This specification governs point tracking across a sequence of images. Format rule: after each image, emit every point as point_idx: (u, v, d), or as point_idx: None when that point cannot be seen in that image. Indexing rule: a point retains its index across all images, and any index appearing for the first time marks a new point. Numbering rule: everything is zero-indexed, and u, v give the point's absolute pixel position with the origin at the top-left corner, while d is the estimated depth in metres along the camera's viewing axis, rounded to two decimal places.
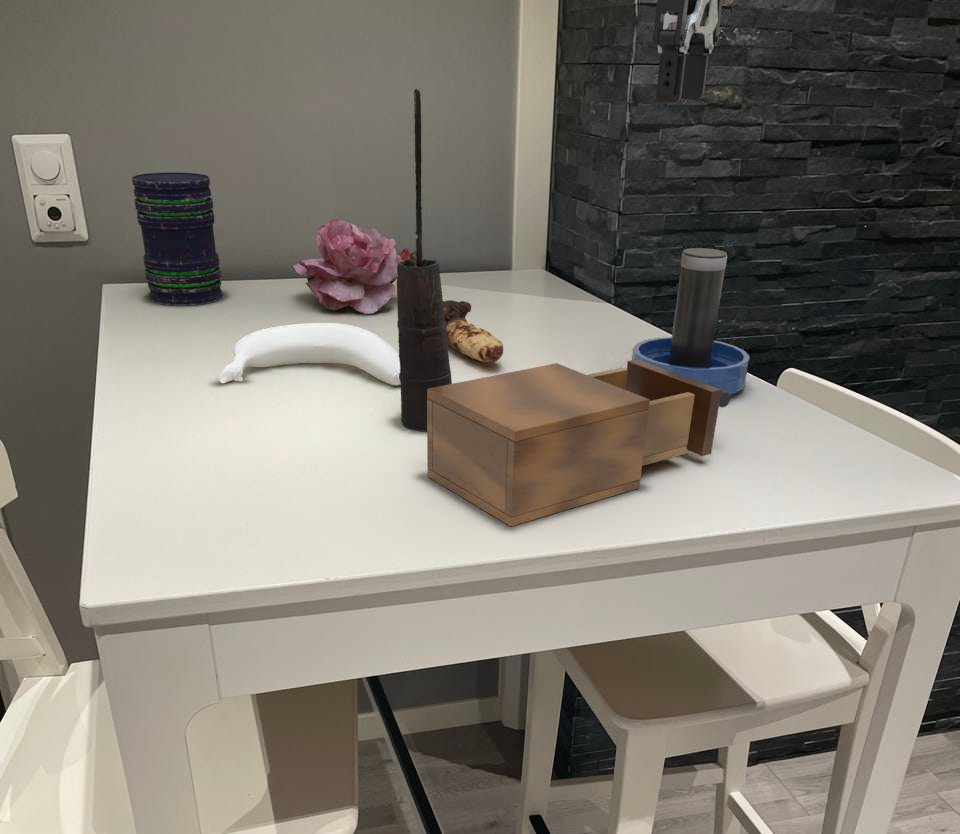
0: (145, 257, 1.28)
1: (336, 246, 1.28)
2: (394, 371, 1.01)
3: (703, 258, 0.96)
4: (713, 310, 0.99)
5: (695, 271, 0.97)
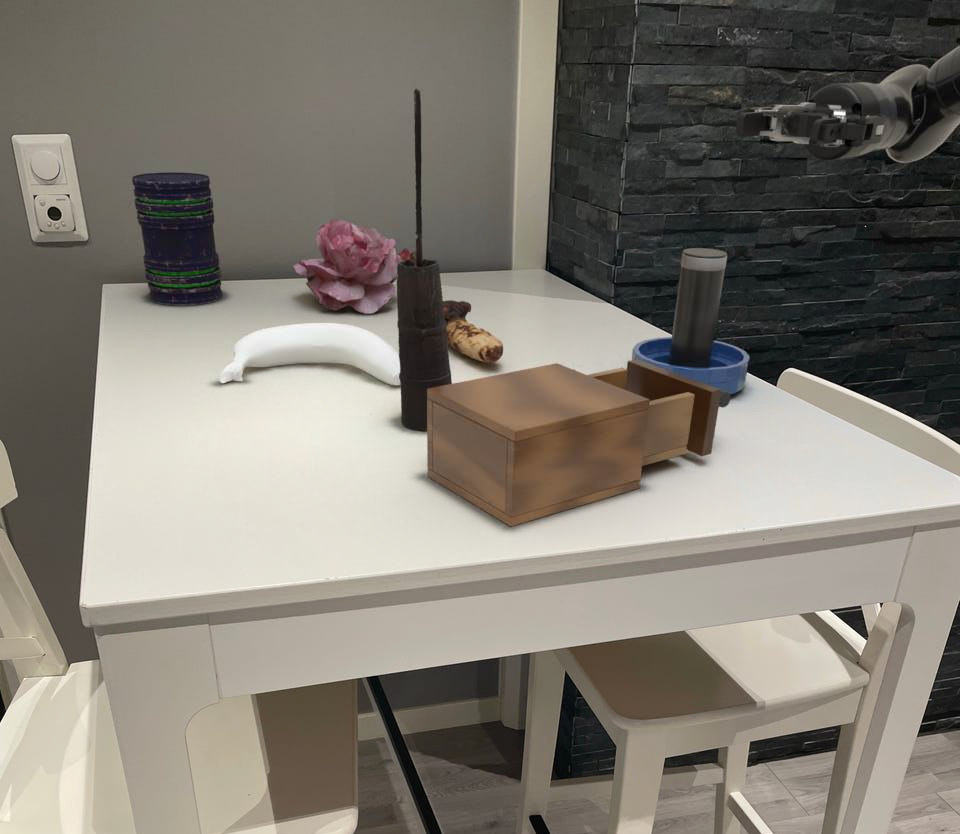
0: (145, 257, 1.28)
1: (336, 246, 1.28)
2: (394, 371, 1.01)
3: (703, 258, 0.96)
4: (713, 310, 0.99)
5: (695, 271, 0.97)
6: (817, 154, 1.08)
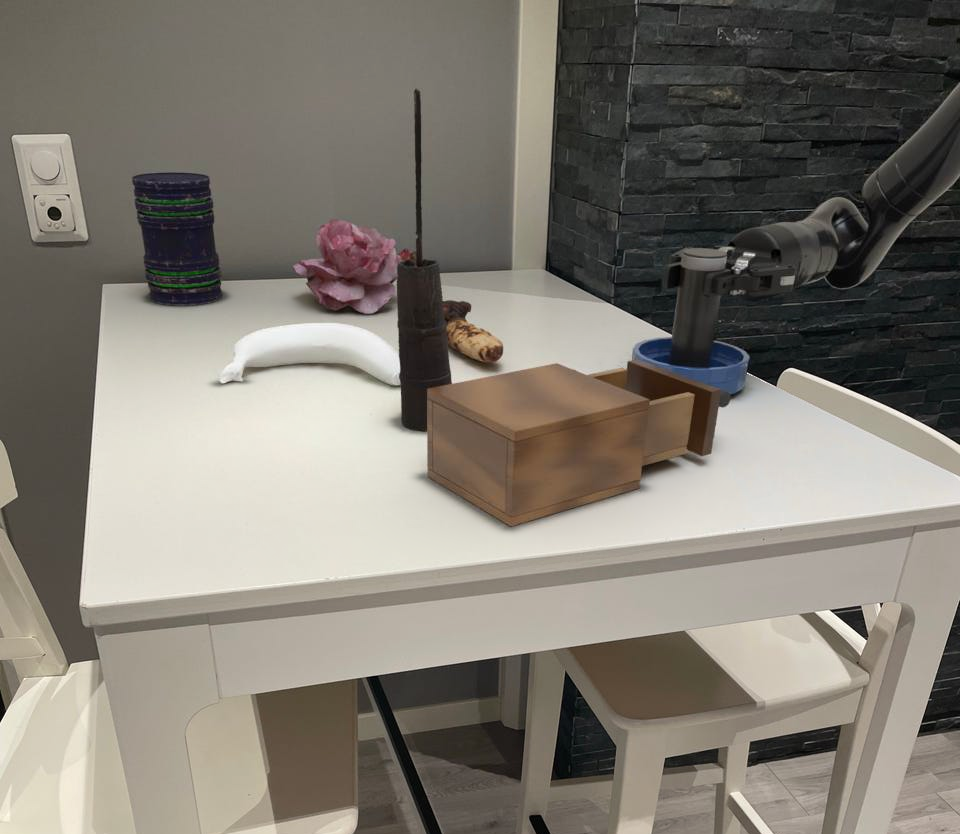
0: (145, 257, 1.28)
1: (336, 246, 1.28)
2: (394, 371, 1.01)
3: (703, 258, 0.96)
4: (713, 310, 0.99)
5: (695, 271, 0.97)
6: (739, 294, 1.07)
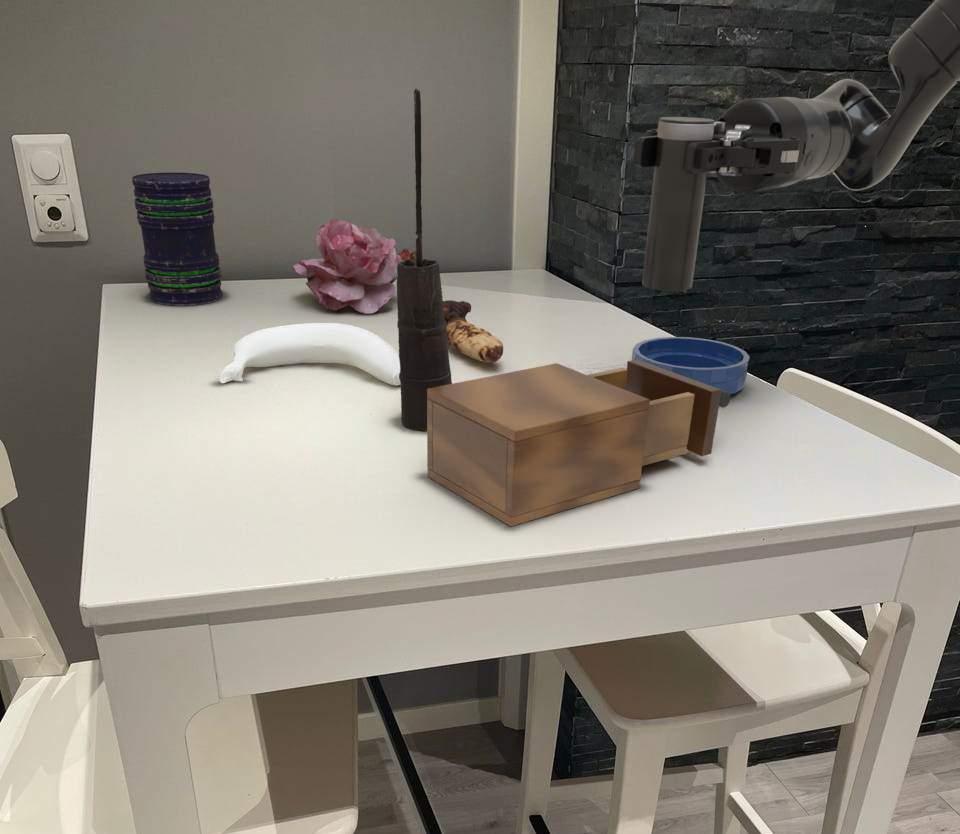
0: (145, 257, 1.28)
1: (336, 246, 1.28)
2: (394, 371, 1.01)
3: (684, 123, 0.77)
4: (697, 194, 0.80)
5: (675, 142, 0.78)
6: (731, 185, 0.88)
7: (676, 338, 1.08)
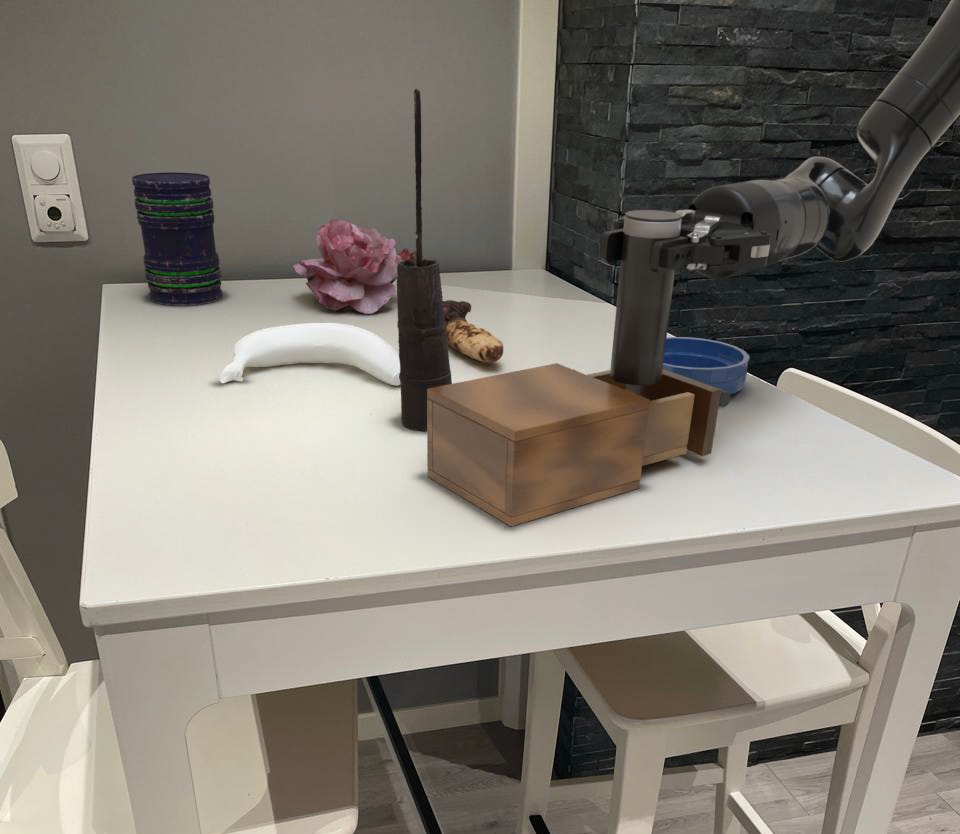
0: (145, 257, 1.28)
1: (336, 246, 1.28)
2: (394, 371, 1.01)
3: (649, 221, 0.75)
4: (665, 290, 0.78)
5: (641, 239, 0.75)
6: (703, 271, 0.86)
7: (676, 338, 1.08)
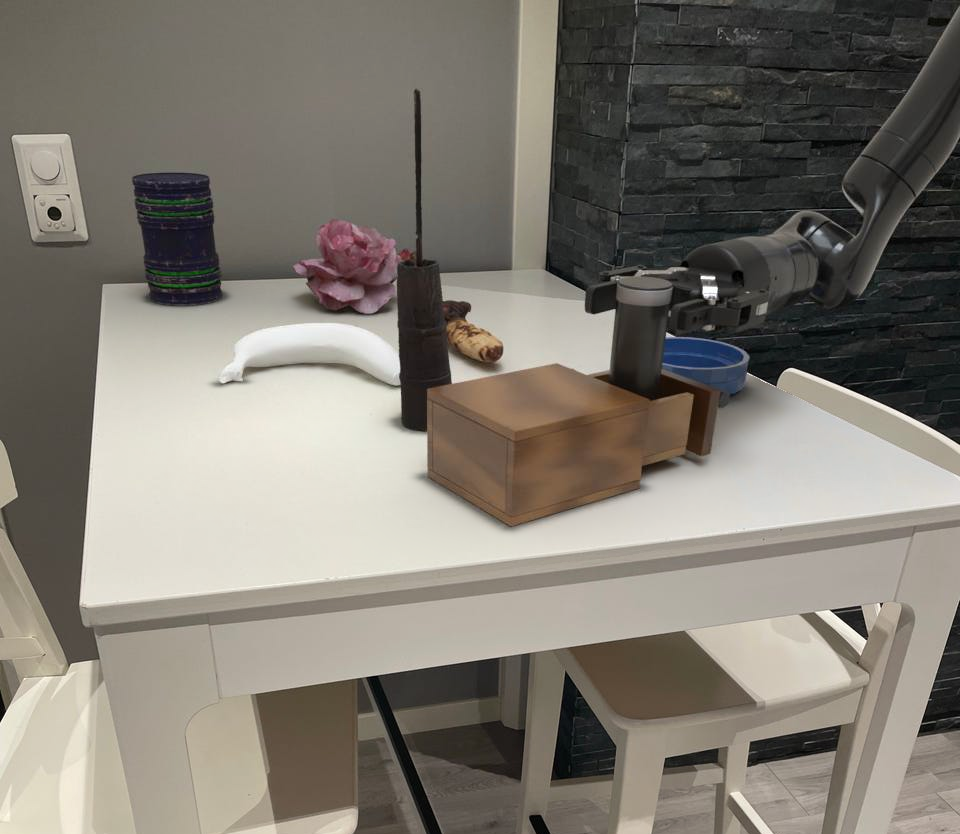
0: (145, 257, 1.28)
1: (336, 246, 1.28)
2: (394, 371, 1.01)
3: (641, 290, 0.77)
4: (656, 354, 0.80)
5: (633, 307, 0.78)
6: None
7: (676, 338, 1.08)
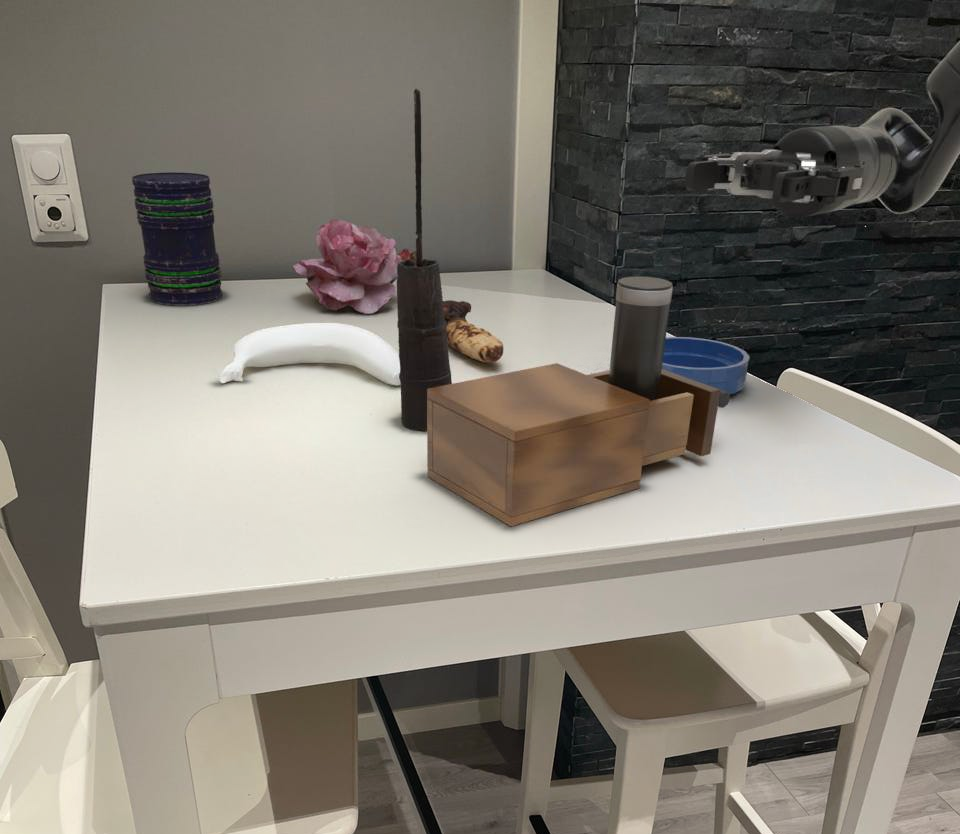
0: (145, 257, 1.28)
1: (336, 246, 1.28)
2: (394, 371, 1.01)
3: (641, 290, 0.77)
4: (656, 354, 0.80)
5: (633, 307, 0.78)
6: (785, 209, 0.91)
7: (676, 338, 1.08)
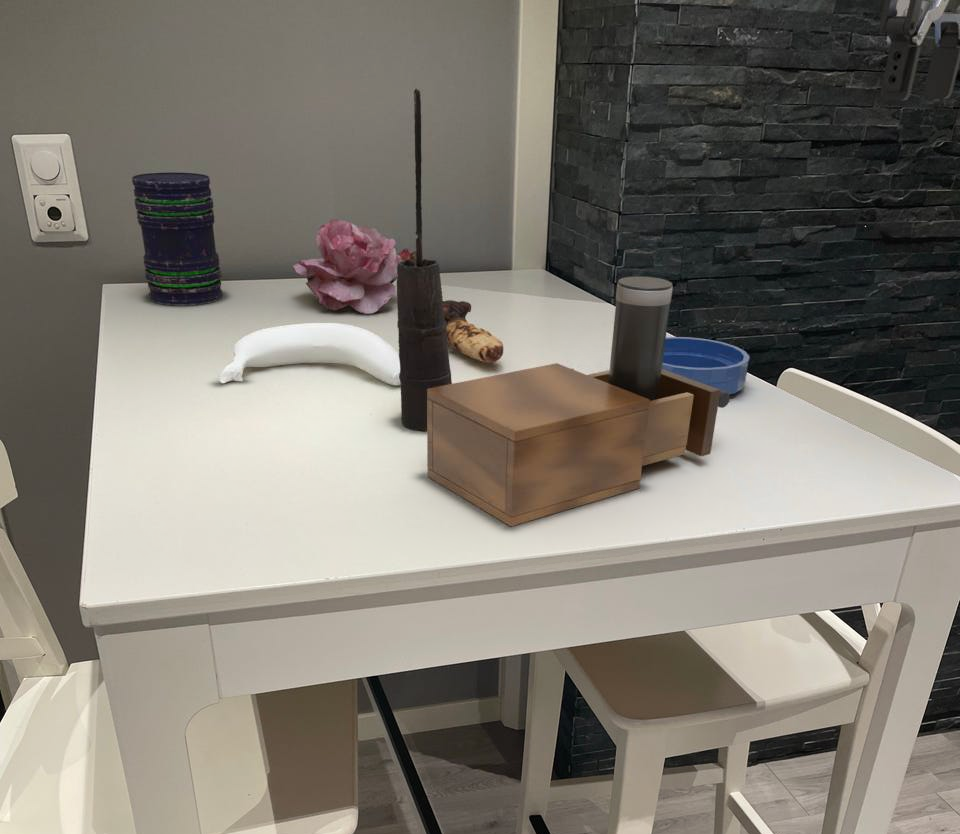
0: (145, 257, 1.28)
1: (336, 246, 1.28)
2: (394, 371, 1.01)
3: (641, 290, 0.77)
4: (656, 354, 0.80)
5: (633, 307, 0.78)
6: None
7: (676, 338, 1.08)
